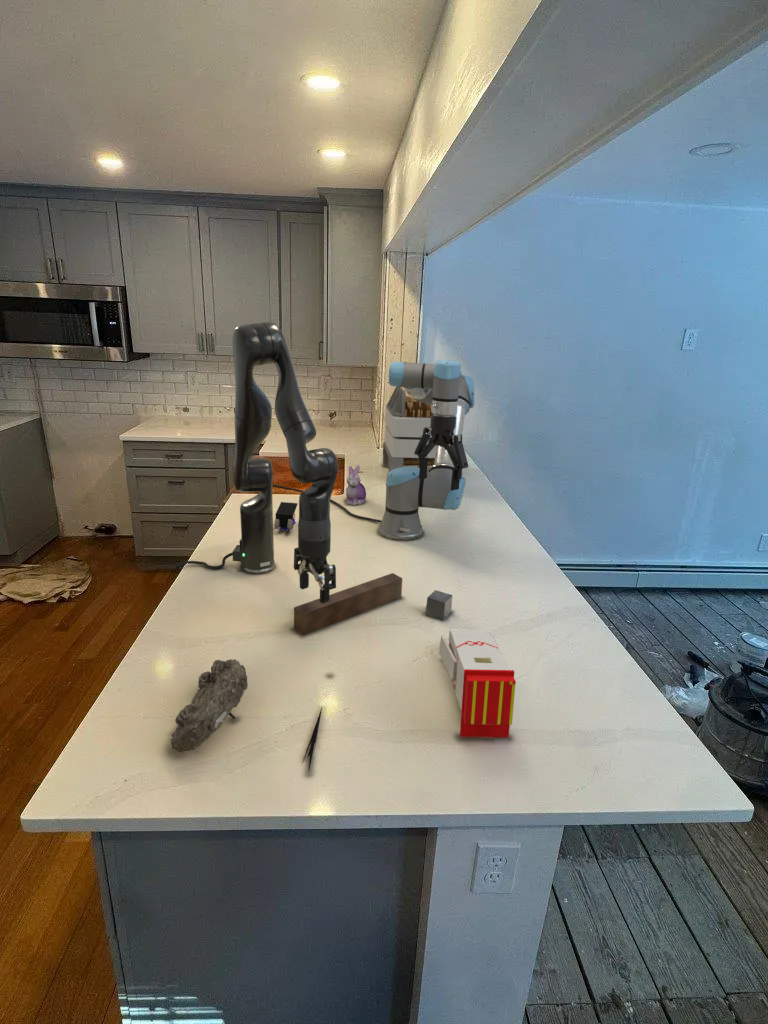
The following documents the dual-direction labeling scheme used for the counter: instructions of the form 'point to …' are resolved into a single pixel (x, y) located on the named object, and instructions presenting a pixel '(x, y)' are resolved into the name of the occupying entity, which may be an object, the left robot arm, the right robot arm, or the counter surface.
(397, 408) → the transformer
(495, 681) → the toy
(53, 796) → the counter surface
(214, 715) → the fossil
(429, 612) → the slate cube
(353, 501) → the figurine
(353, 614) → the walnut bar
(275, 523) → the figurine character
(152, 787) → the counter surface
